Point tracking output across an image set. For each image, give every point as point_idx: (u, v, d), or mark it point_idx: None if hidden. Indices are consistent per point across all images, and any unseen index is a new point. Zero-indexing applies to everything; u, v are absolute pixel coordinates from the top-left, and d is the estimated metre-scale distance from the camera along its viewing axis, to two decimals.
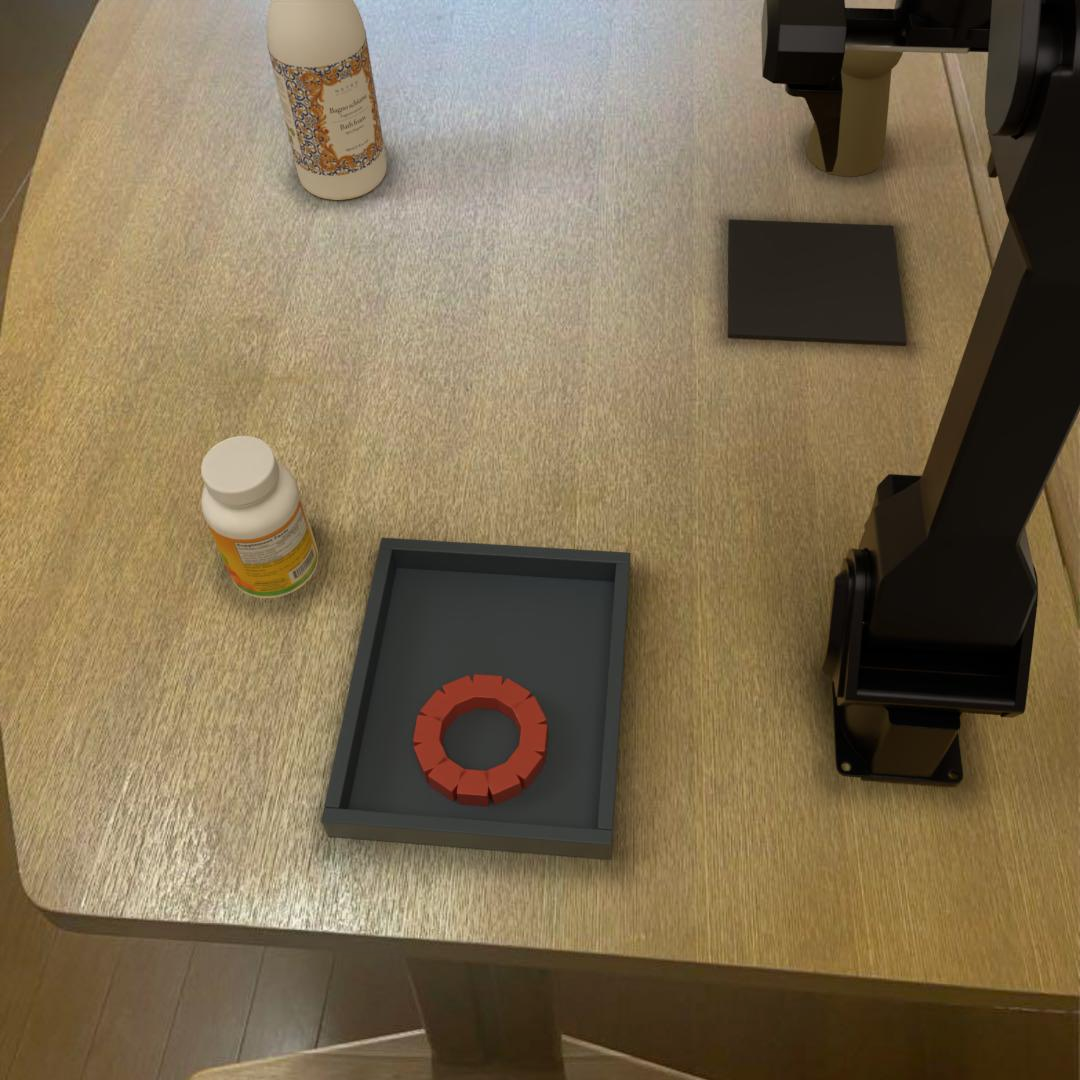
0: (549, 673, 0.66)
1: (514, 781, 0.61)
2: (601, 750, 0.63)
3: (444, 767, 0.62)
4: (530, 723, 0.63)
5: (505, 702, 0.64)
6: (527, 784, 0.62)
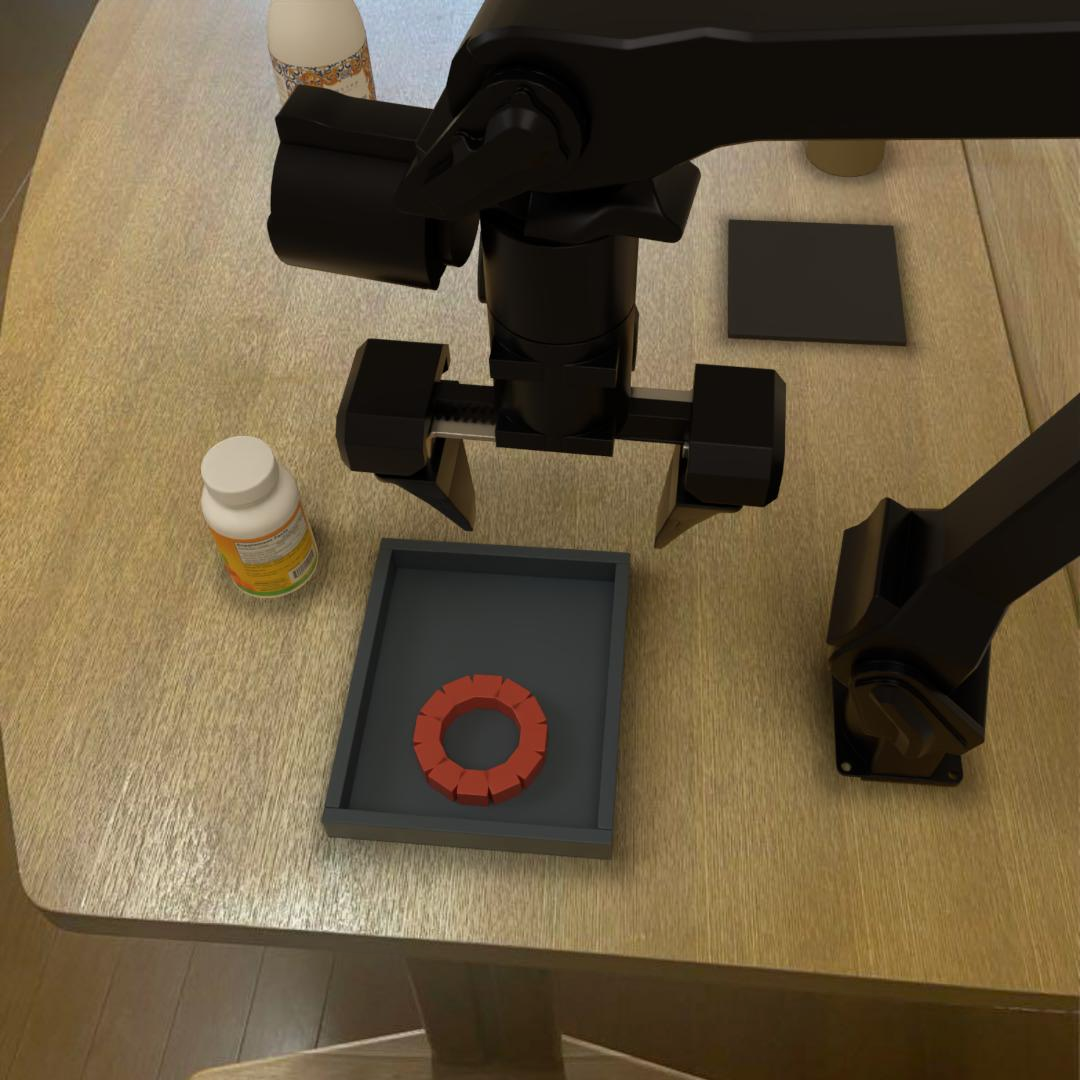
0: (549, 673, 0.66)
1: (514, 781, 0.61)
2: (601, 750, 0.63)
3: (444, 767, 0.62)
4: (530, 723, 0.63)
5: (505, 702, 0.64)
6: (527, 784, 0.62)
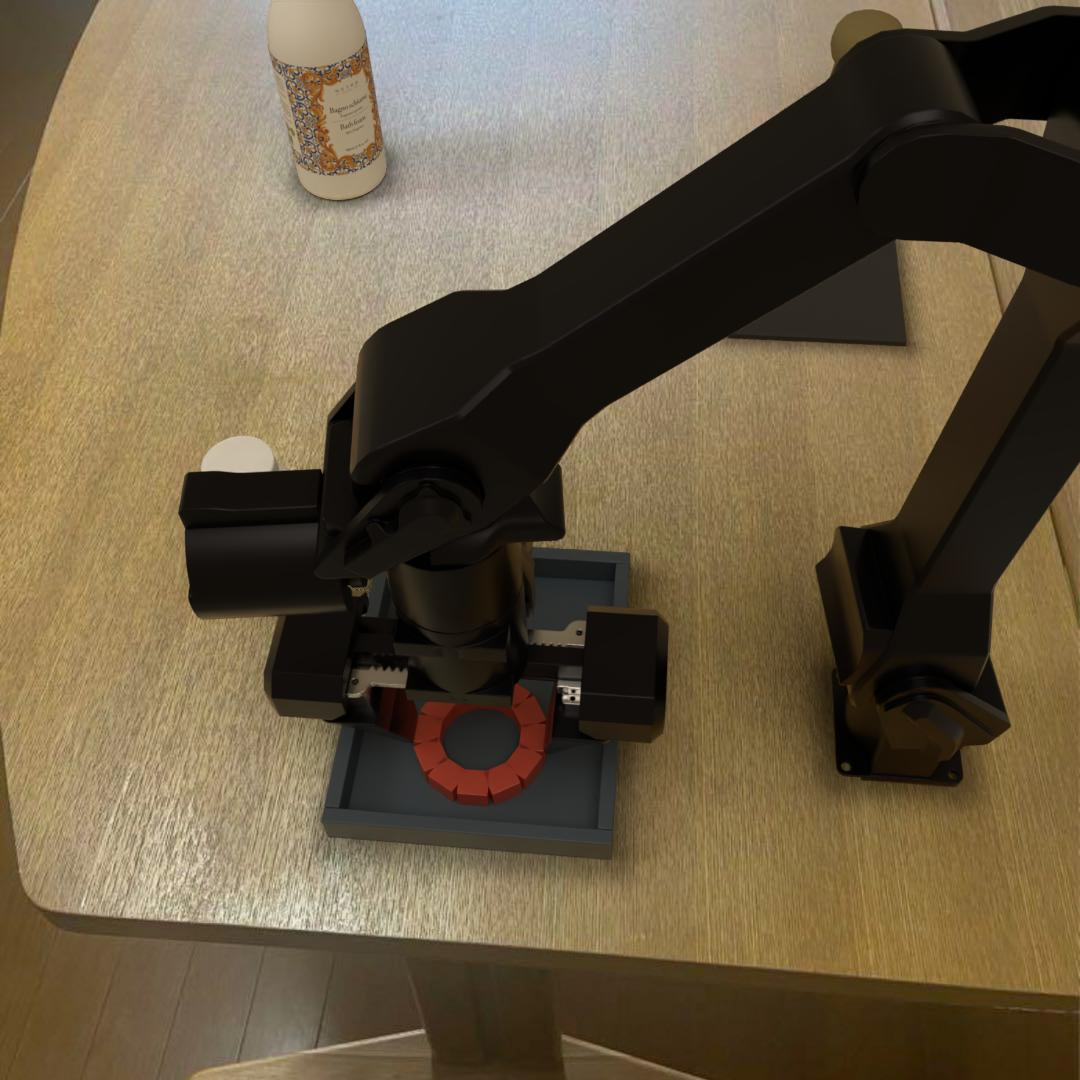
0: None
1: (514, 781, 0.61)
2: (601, 750, 0.63)
3: (444, 767, 0.62)
4: (530, 723, 0.63)
5: None
6: (527, 784, 0.62)
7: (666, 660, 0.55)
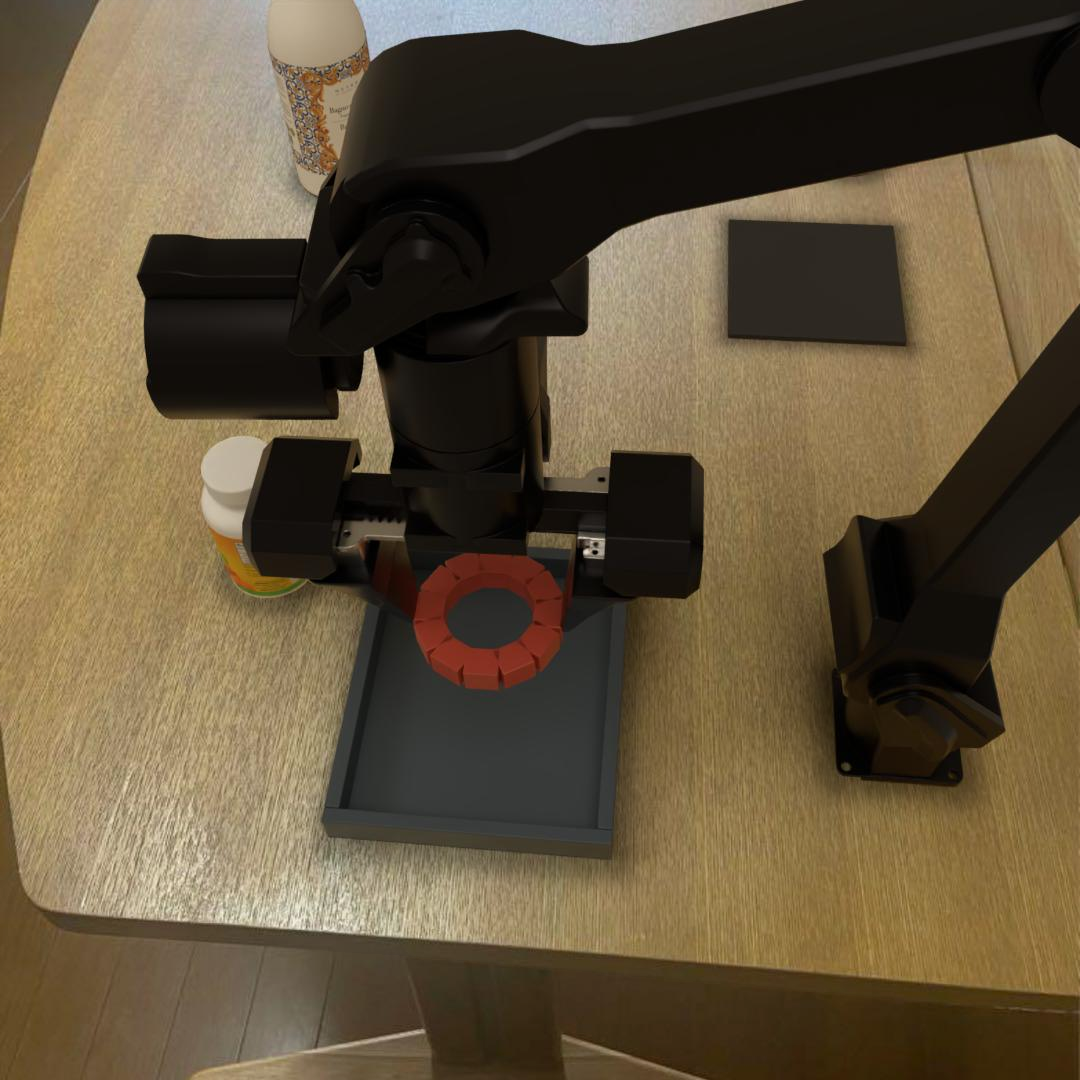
0: (549, 673, 0.66)
1: (528, 660, 0.54)
2: (601, 750, 0.63)
3: (448, 646, 0.55)
4: (544, 599, 0.56)
5: (516, 577, 0.57)
6: (542, 665, 0.55)
7: (702, 504, 0.48)
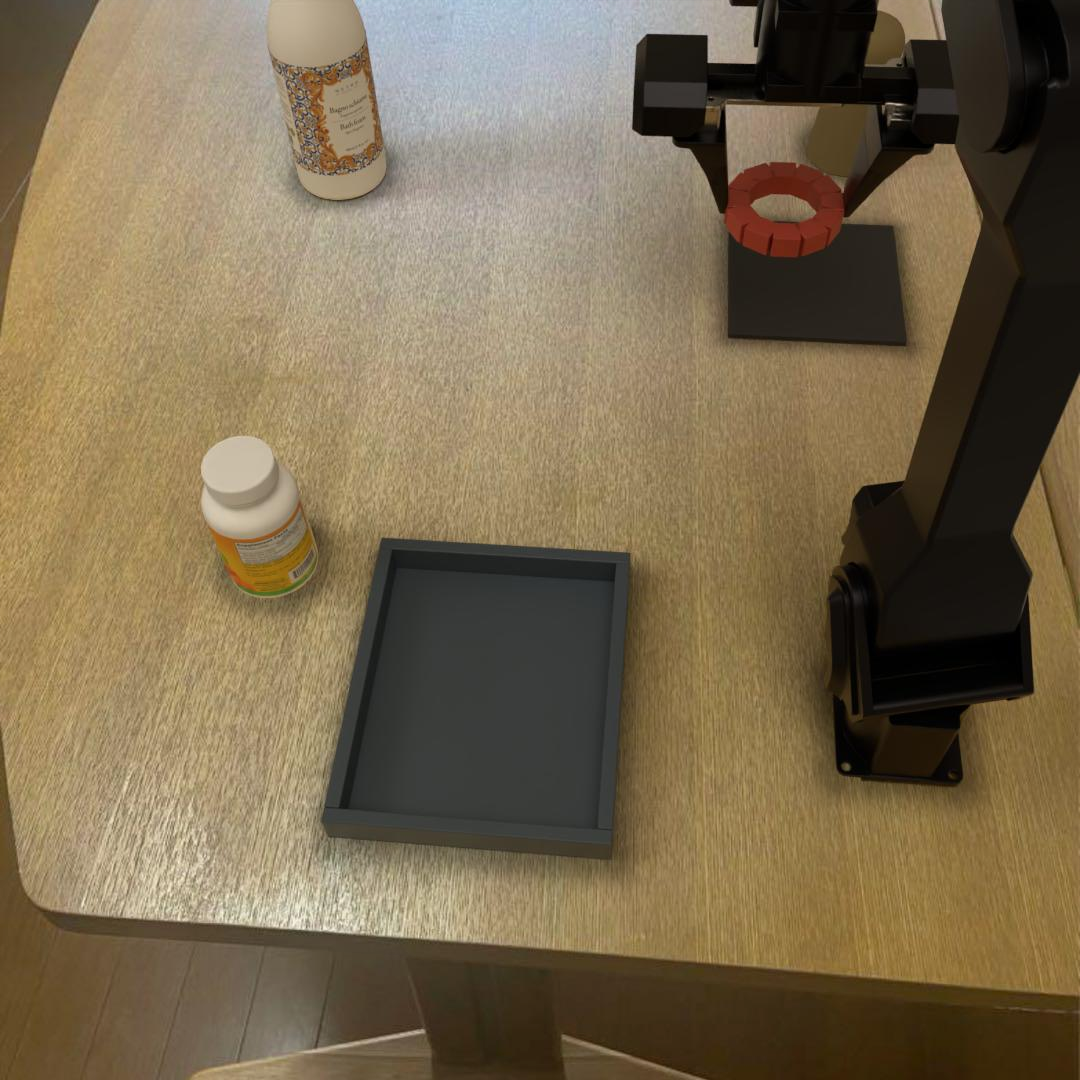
0: (549, 673, 0.66)
1: (822, 229, 0.70)
2: (601, 750, 0.63)
3: (758, 221, 0.70)
4: (827, 193, 0.71)
5: (802, 179, 0.72)
6: (830, 238, 0.70)
7: None
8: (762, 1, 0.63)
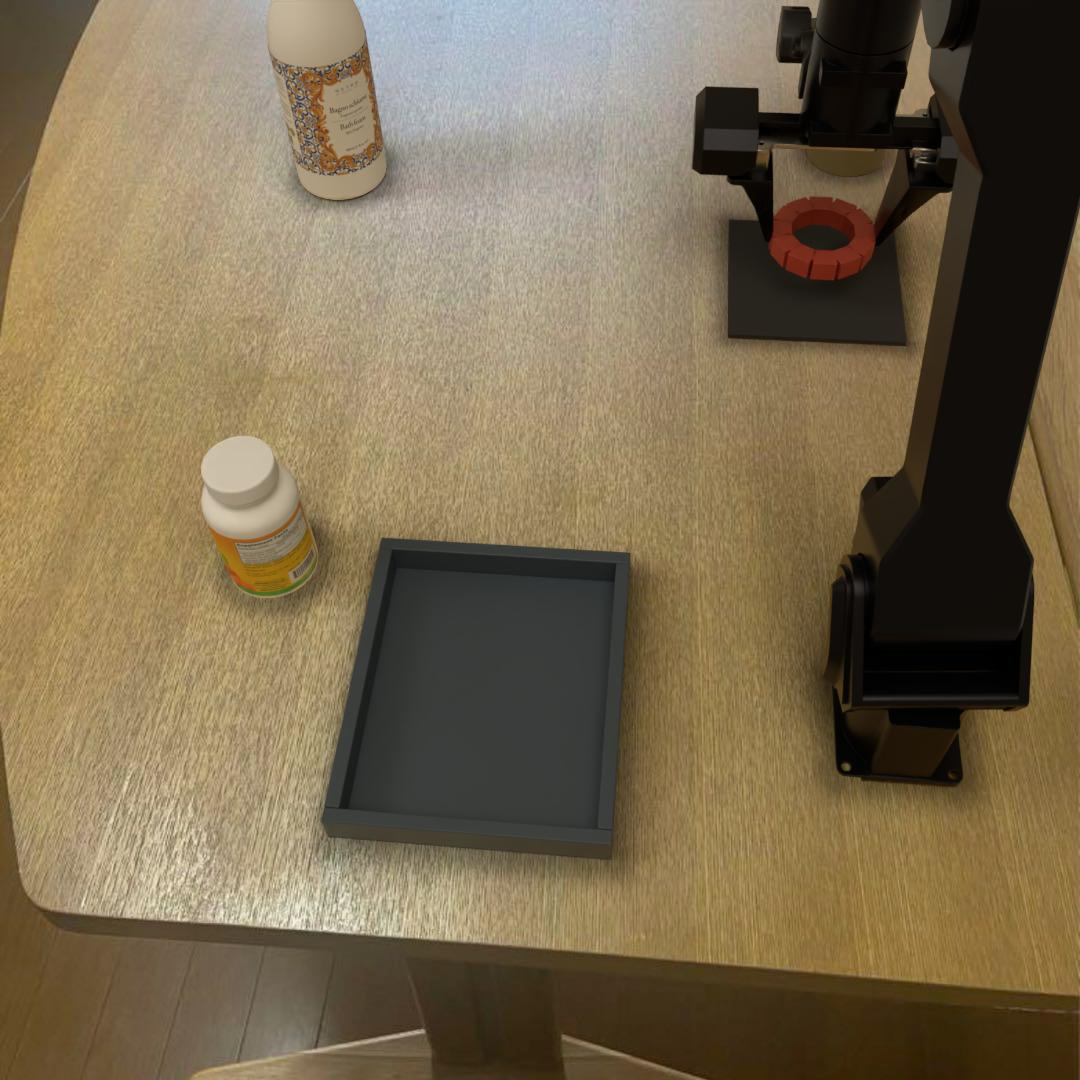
0: (549, 673, 0.66)
1: (856, 256, 0.79)
2: (601, 750, 0.63)
3: (800, 248, 0.80)
4: (860, 224, 0.81)
5: (838, 211, 0.82)
6: (863, 264, 0.80)
7: None
8: (806, 60, 0.73)
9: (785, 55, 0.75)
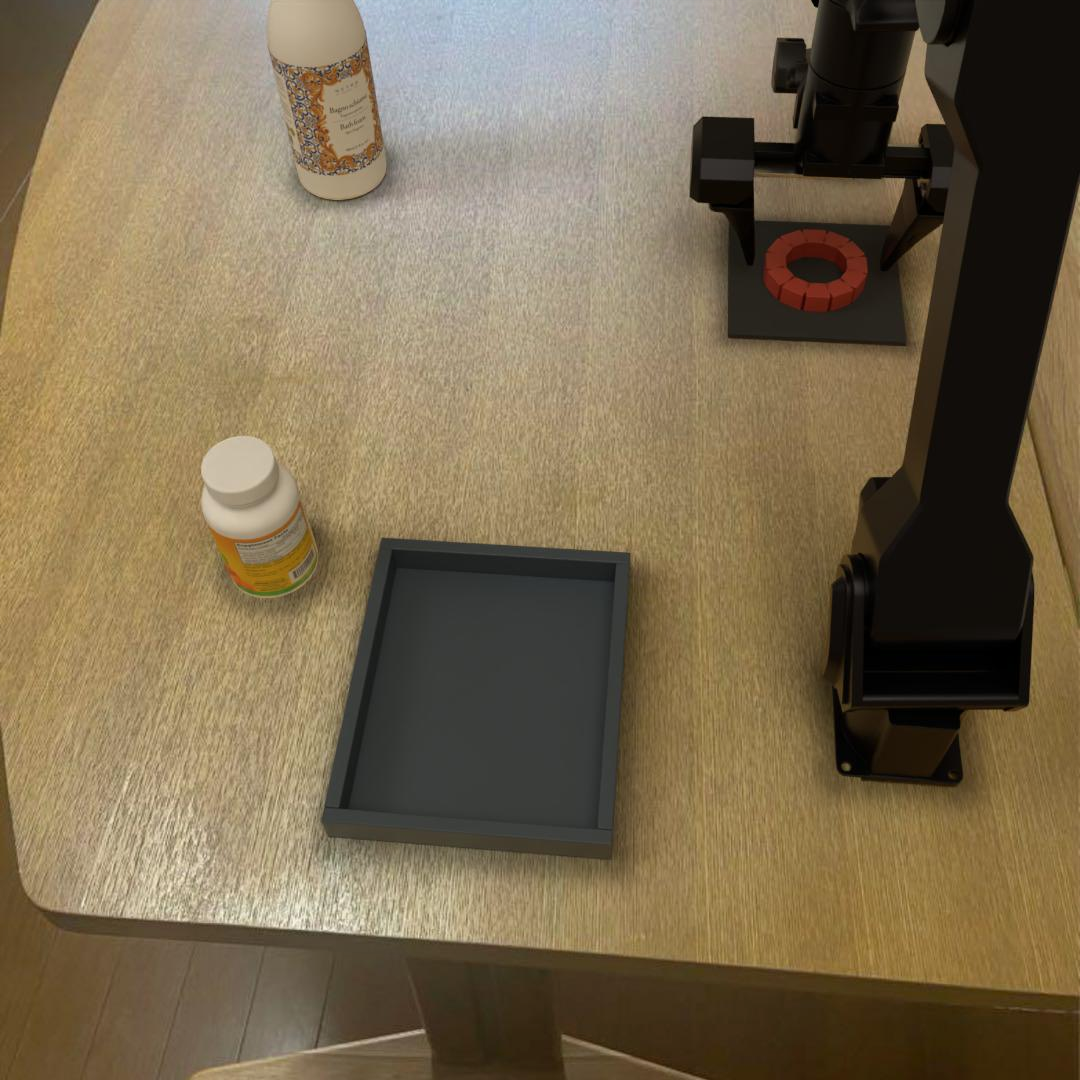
0: (549, 673, 0.66)
1: (848, 289, 0.82)
2: (601, 750, 0.63)
3: (794, 281, 0.82)
4: (852, 257, 0.84)
5: (831, 244, 0.84)
6: (855, 296, 0.82)
7: None
8: (801, 91, 0.75)
9: (780, 86, 0.77)
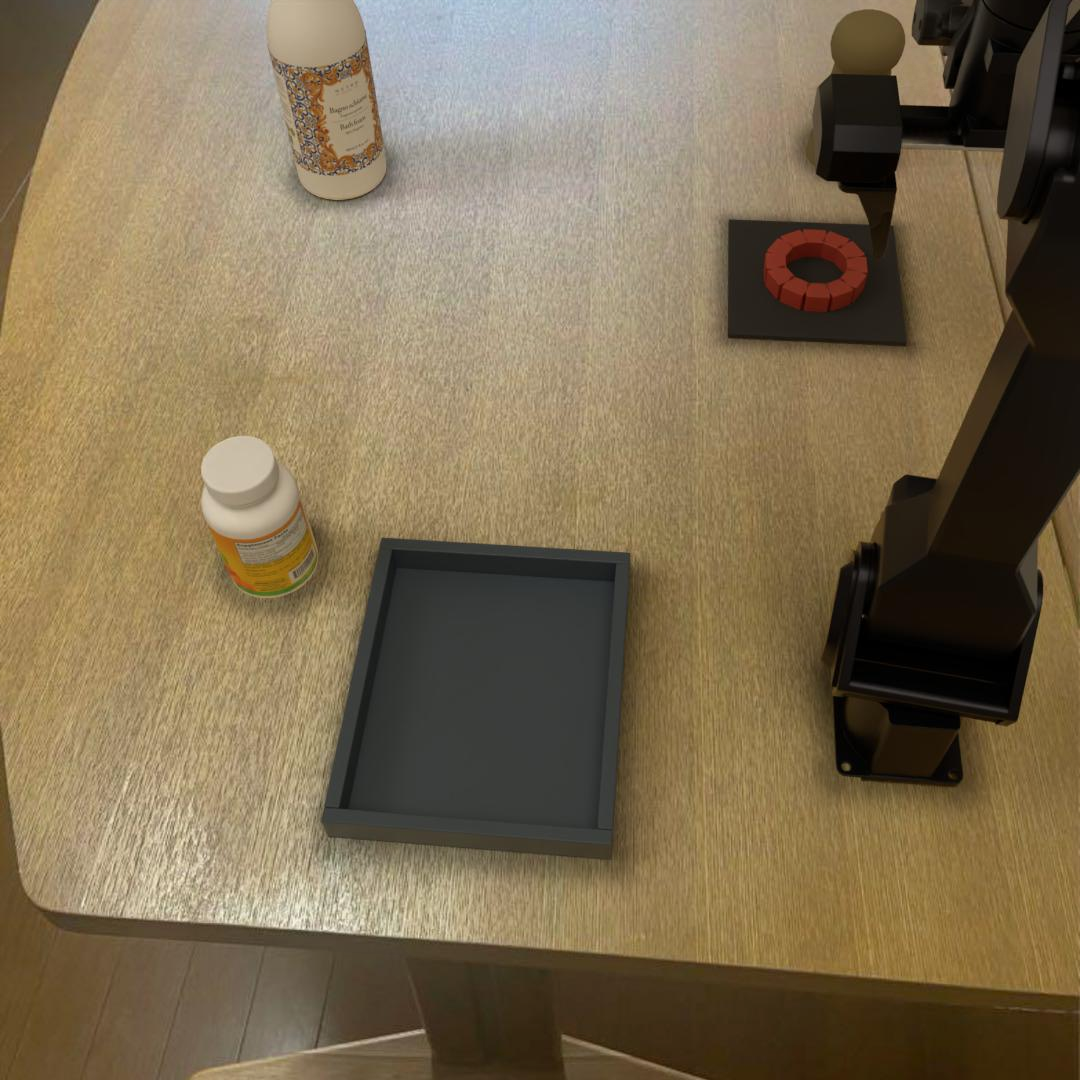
0: (549, 673, 0.66)
1: (848, 289, 0.82)
2: (601, 750, 0.63)
3: (794, 281, 0.82)
4: (852, 257, 0.84)
5: (831, 244, 0.84)
6: (855, 296, 0.82)
7: None
8: (959, 41, 0.60)
9: (928, 36, 0.62)
